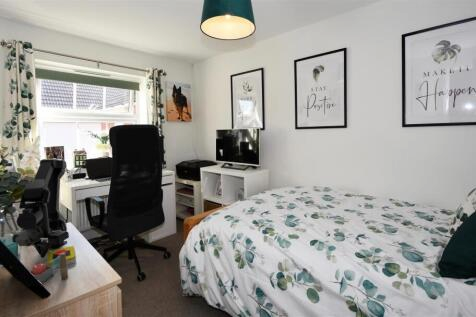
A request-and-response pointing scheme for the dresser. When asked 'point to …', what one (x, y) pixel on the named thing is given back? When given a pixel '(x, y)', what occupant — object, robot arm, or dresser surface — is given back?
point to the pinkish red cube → (39, 269)
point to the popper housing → (45, 275)
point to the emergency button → (69, 256)
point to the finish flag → (61, 265)
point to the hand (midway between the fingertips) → (43, 257)
